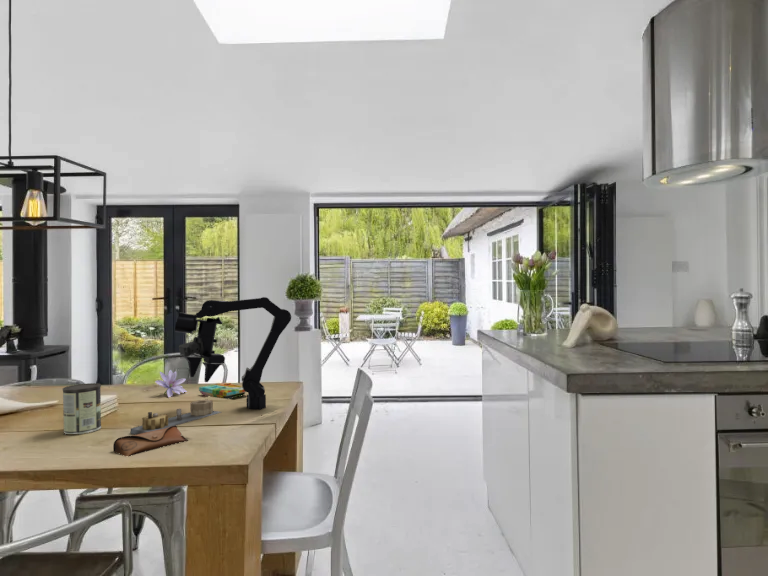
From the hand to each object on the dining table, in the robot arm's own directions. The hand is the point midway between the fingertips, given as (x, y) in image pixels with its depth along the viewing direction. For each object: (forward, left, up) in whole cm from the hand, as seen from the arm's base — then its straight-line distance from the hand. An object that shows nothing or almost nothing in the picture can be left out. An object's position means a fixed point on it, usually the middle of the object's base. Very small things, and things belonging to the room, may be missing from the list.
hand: (198, 379), depth 163 cm
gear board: (-2, +10, -13) cm, 16 cm away
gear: (-2, +1, -12) cm, 12 cm away
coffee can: (+21, +28, -13) cm, 37 cm away
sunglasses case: (-14, +27, -14) cm, 34 cm away
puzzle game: (+19, -28, -14) cm, 36 cm away
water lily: (+41, -19, -13) cm, 47 cm away
